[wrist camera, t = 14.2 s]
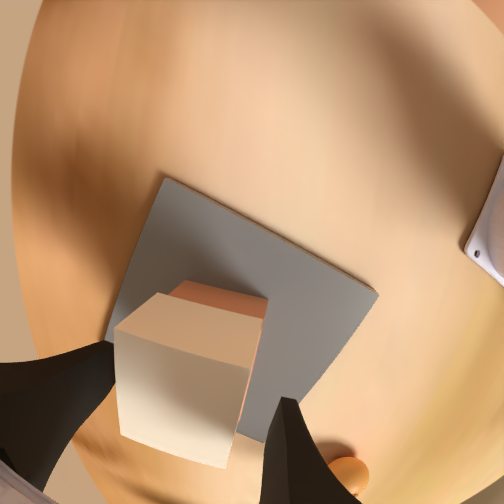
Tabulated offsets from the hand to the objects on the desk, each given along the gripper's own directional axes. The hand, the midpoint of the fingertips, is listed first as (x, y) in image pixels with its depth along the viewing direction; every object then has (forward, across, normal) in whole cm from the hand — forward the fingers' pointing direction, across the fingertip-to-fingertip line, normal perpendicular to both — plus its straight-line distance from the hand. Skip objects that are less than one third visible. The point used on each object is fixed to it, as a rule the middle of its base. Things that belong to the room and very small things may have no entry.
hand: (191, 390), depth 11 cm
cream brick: (+3, 0, 0) cm, 3 cm away
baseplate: (+8, 0, +1) cm, 8 cm away
